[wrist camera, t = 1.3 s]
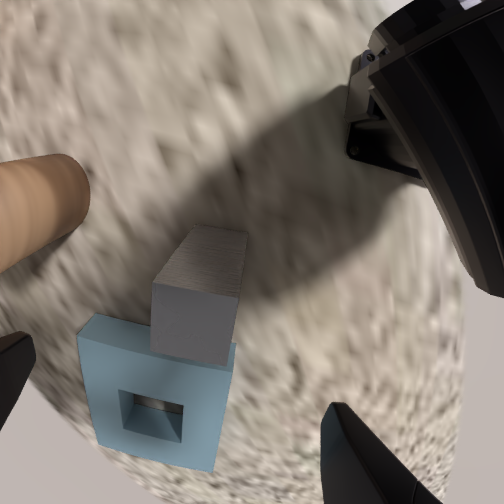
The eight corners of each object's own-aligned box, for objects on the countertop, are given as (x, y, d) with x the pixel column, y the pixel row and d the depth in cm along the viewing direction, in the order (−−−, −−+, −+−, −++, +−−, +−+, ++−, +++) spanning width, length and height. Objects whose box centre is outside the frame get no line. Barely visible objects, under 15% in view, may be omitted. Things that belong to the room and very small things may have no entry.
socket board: (235, 343, 21) (232, 372, 18) (216, 446, 25) (212, 472, 22) (95, 313, 20) (76, 335, 18) (109, 421, 24) (98, 444, 21)
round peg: (93, 156, 17) (4, 172, 9) (89, 238, 19) (11, 292, 11) (31, 152, 17) (-58, 168, 9) (30, 226, 19) (-50, 268, 11)
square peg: (248, 233, 18) (239, 298, 11) (239, 280, 19) (226, 366, 12) (195, 223, 18) (152, 282, 11) (190, 271, 19) (150, 350, 12)
